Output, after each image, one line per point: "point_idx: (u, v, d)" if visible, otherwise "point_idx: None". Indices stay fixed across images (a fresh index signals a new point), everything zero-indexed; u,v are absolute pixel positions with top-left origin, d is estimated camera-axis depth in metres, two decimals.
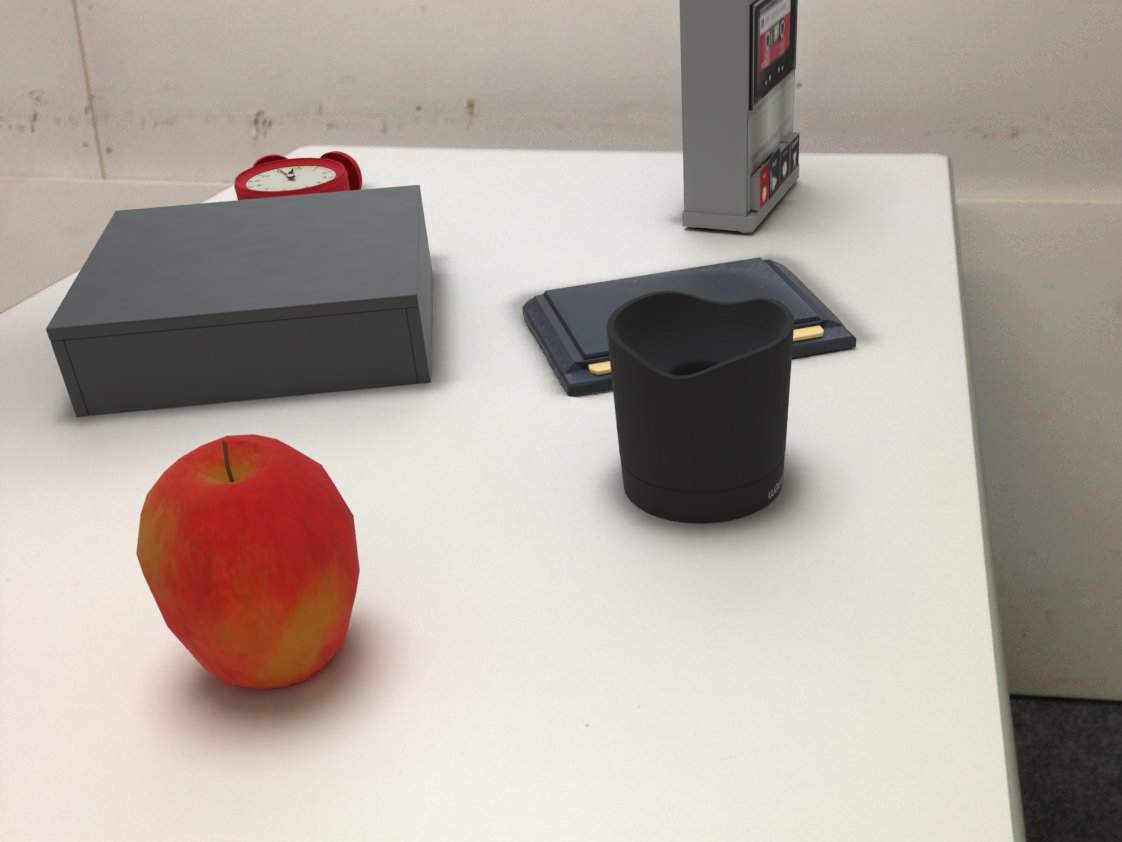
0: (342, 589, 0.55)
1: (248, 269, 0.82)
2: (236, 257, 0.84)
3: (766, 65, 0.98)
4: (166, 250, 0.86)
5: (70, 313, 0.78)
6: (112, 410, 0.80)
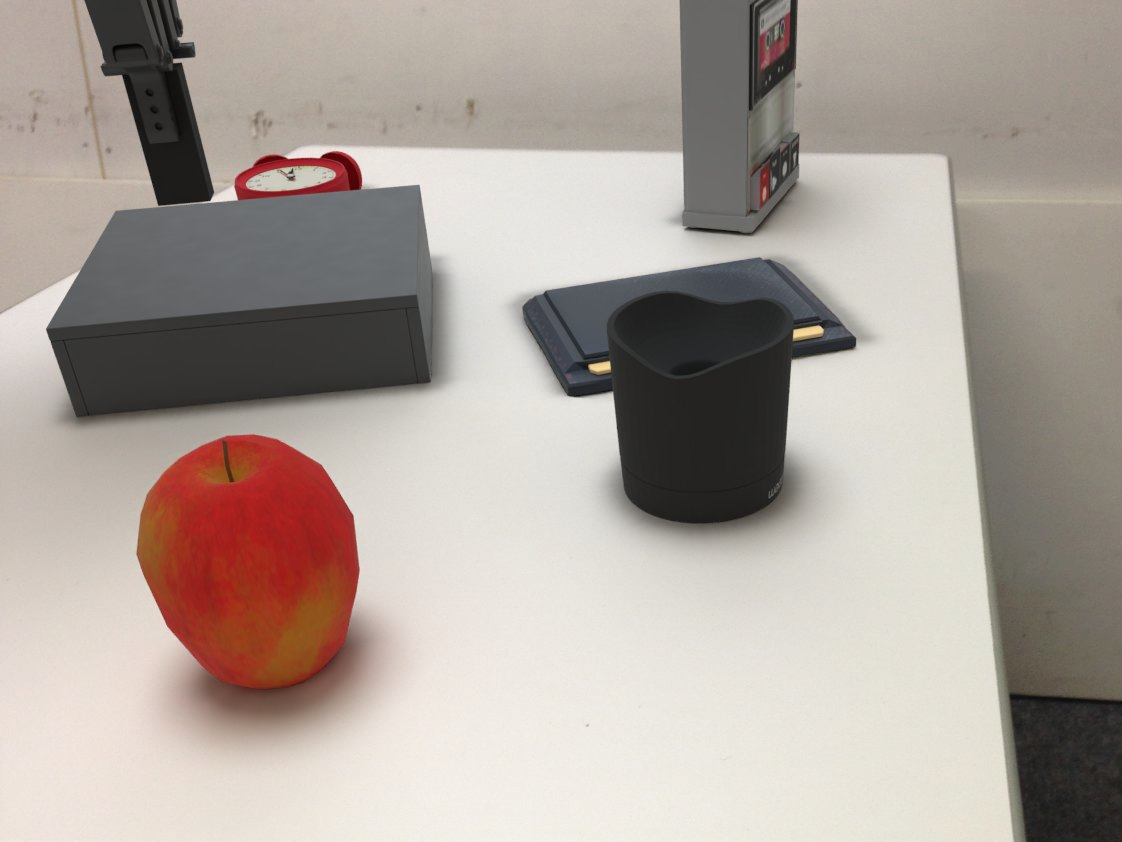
0: (342, 589, 0.55)
1: (248, 269, 0.82)
2: (236, 257, 0.84)
3: (766, 65, 0.98)
4: (166, 250, 0.86)
5: (70, 313, 0.78)
6: (112, 410, 0.80)
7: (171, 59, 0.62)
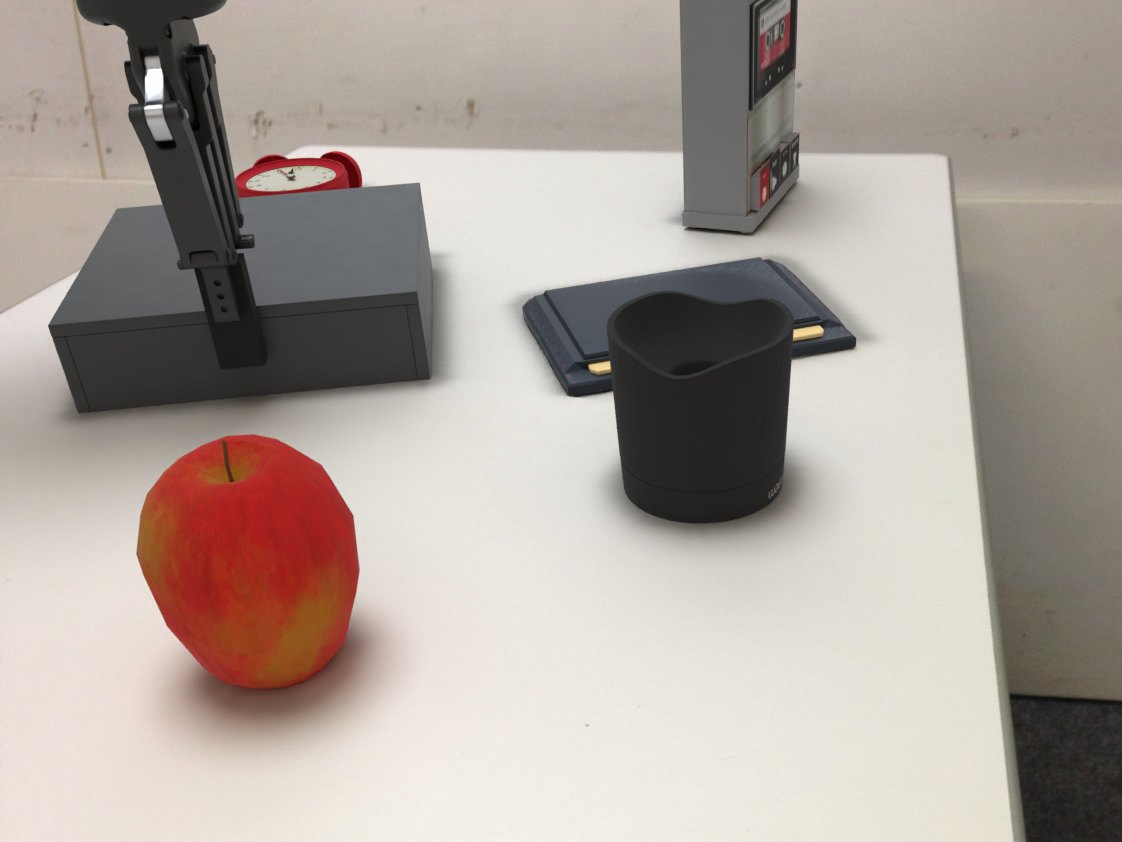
0: (342, 589, 0.55)
1: (249, 266, 0.83)
2: None
3: (766, 65, 0.98)
4: (168, 247, 0.86)
5: (72, 310, 0.78)
6: (114, 406, 0.80)
7: (236, 255, 0.73)
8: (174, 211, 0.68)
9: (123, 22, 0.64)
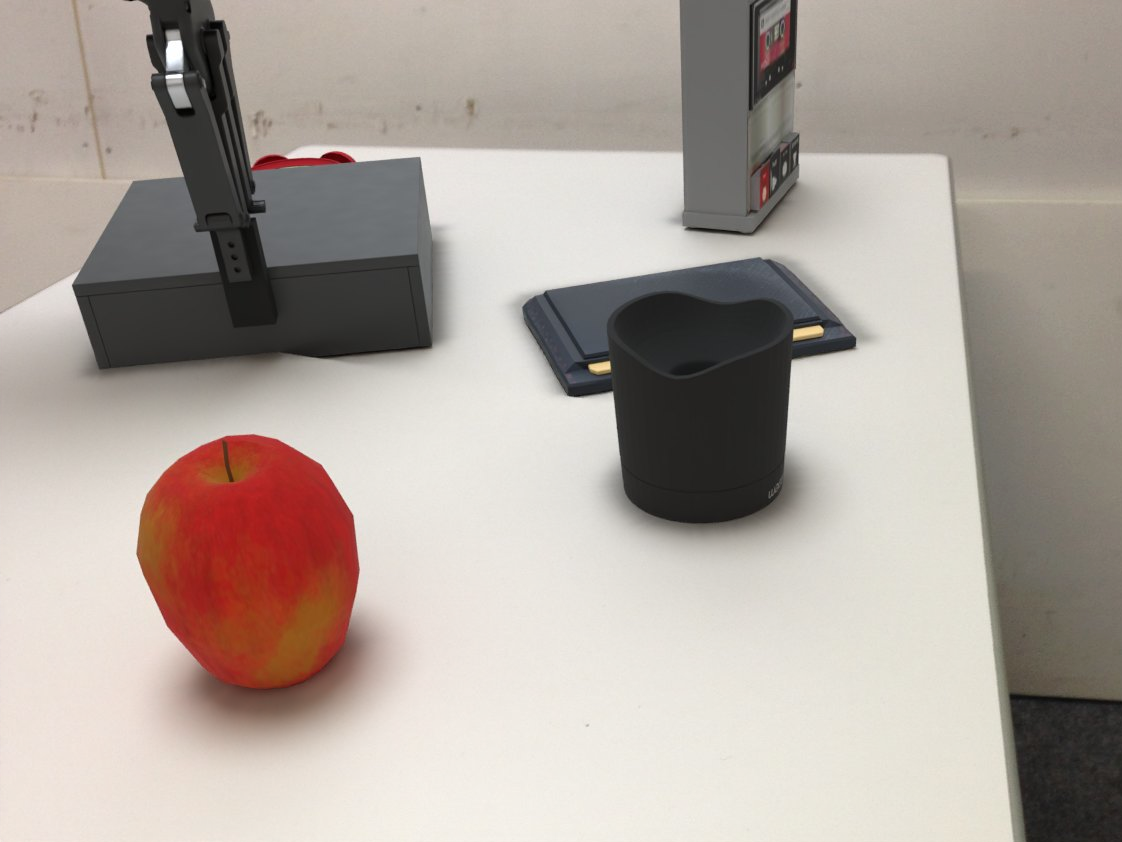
0: (342, 589, 0.55)
1: (259, 232, 0.88)
2: None
3: (766, 65, 0.98)
4: (182, 215, 0.91)
5: (94, 271, 0.83)
6: (133, 363, 0.85)
7: (249, 219, 0.78)
8: (192, 175, 0.74)
9: None
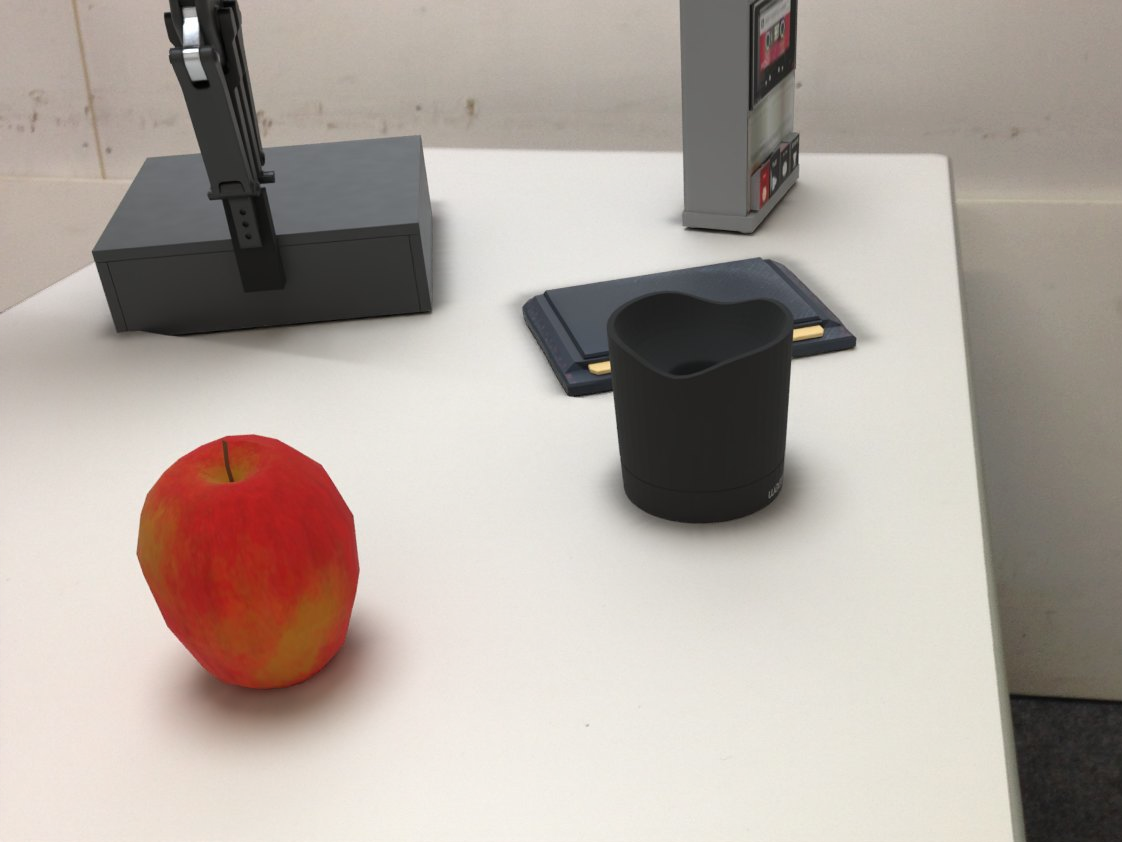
0: (342, 589, 0.55)
1: None
2: None
3: (766, 65, 0.98)
4: (195, 188, 0.96)
5: (112, 239, 0.88)
6: (149, 326, 0.90)
7: (259, 188, 0.83)
8: (207, 145, 0.78)
9: None
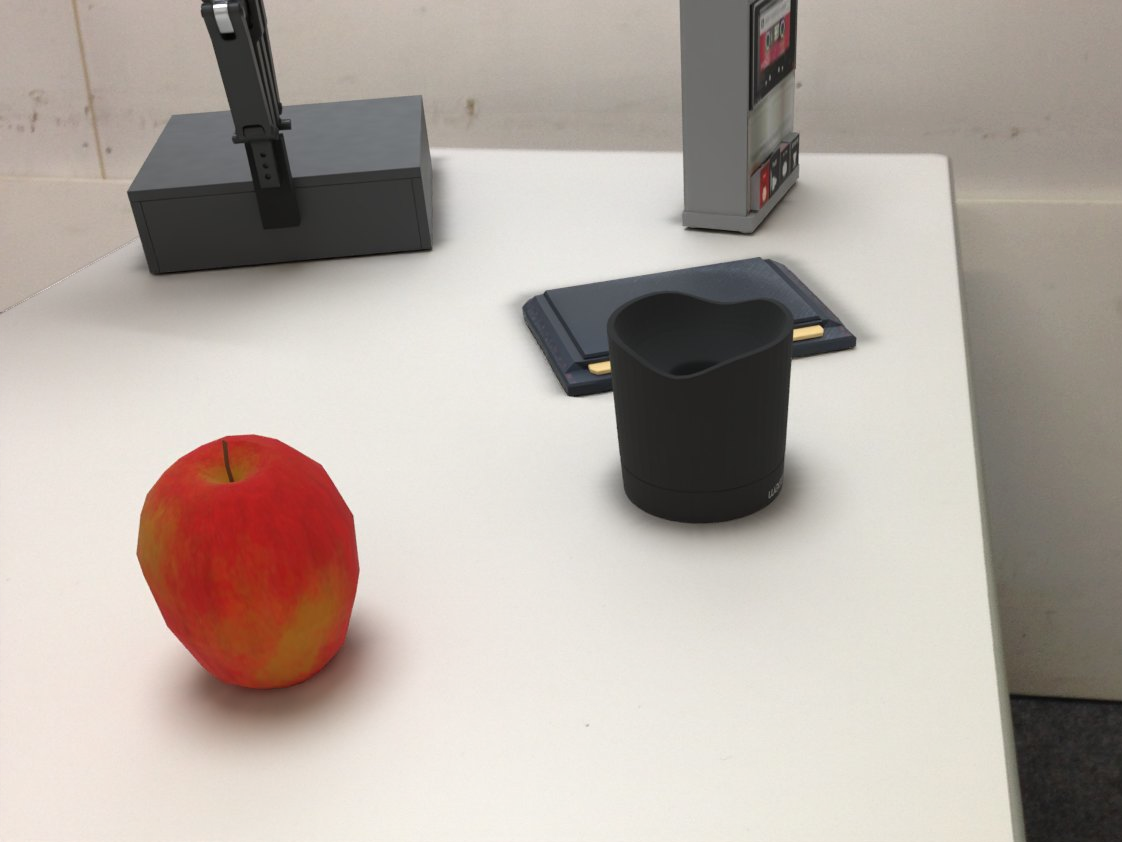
0: (342, 589, 0.55)
1: None
2: None
3: (766, 65, 0.98)
4: (217, 140, 1.06)
5: (145, 181, 0.98)
6: (177, 261, 1.00)
7: (278, 132, 0.93)
8: (232, 91, 0.88)
9: None
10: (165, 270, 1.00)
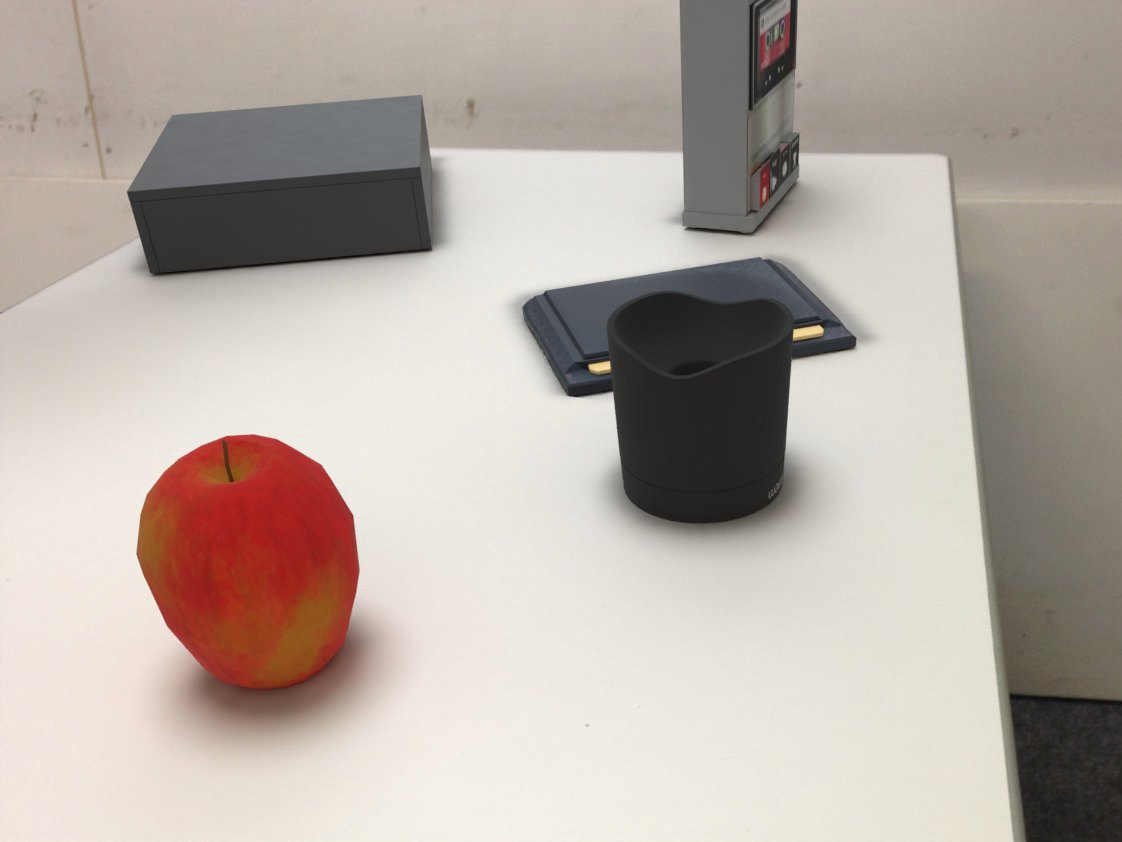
0: (342, 589, 0.55)
1: (284, 152, 1.02)
2: (274, 145, 1.04)
3: (766, 65, 0.98)
4: (217, 140, 1.06)
5: (145, 181, 0.98)
6: (177, 261, 1.00)
7: None
8: None
9: None
10: (165, 270, 1.00)
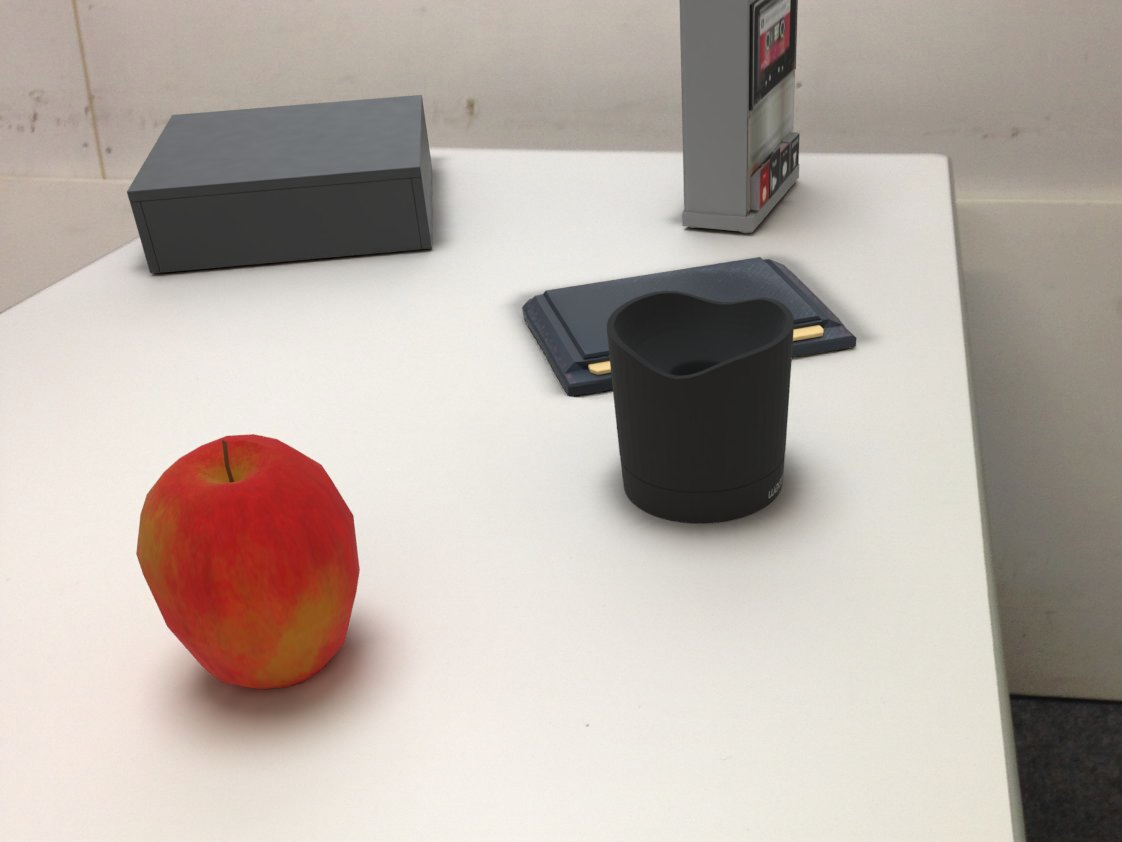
0: (342, 589, 0.55)
1: (284, 152, 1.02)
2: (274, 145, 1.04)
3: (766, 65, 0.98)
4: (217, 140, 1.06)
5: (145, 181, 0.98)
6: (177, 261, 1.00)
7: None
8: None
9: None
10: (165, 270, 1.00)
